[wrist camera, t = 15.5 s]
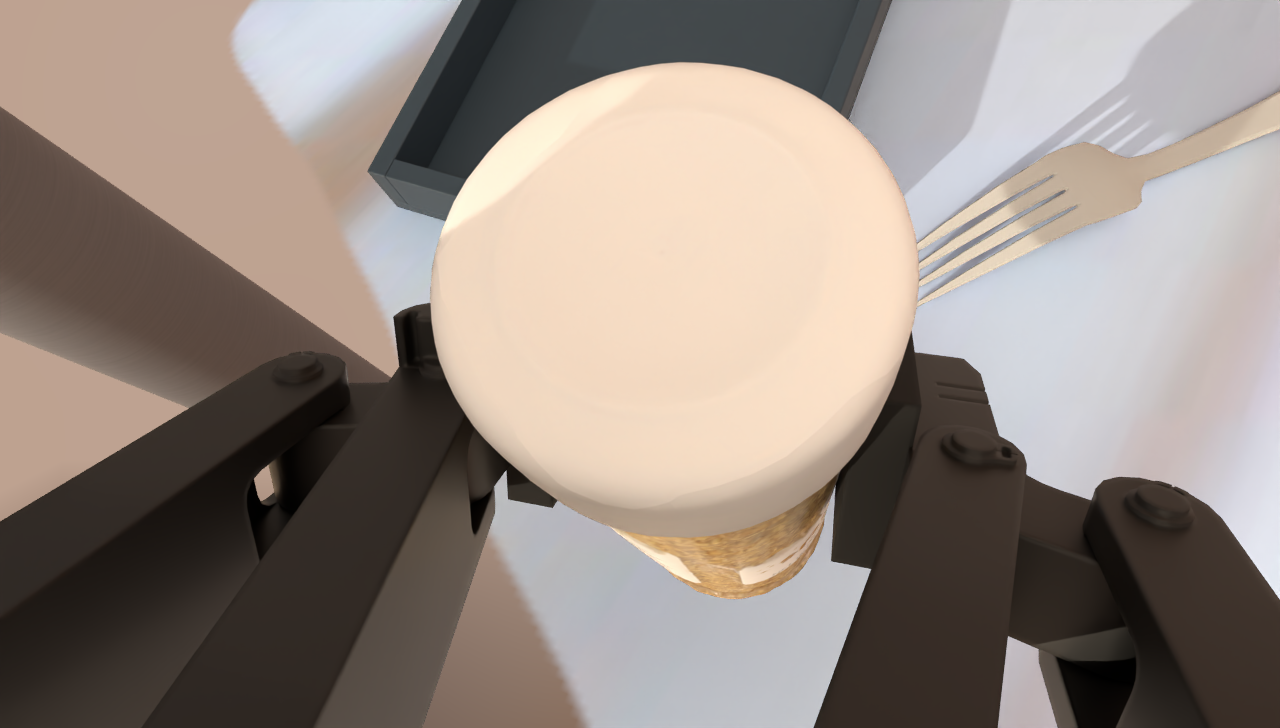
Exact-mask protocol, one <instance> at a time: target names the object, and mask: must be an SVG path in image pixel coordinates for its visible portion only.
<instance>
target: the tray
mask: <svg viewBox="0 0 1280 728" xmlns="http://www.w3.org/2000/svg"><path fill="white" fill-rule="evenodd" d="M891 1H892V0H462V1H461V3H460V5H459V7H458V8H457V10H456V12H455V14H454V16H453V17H452V19H451V21H450V23H449V25H448V26H447V28H446V30H445V32H444V34H443V35H442V37H441V39H440V41H439V43H438V44H437V46H436V48H435V50H434V52H433V53H432V55H431V57H430V59H429V61H428V63H427V64H426V66H425V68H424V70H423V72H422V73H421V75H420V77H419V79H418V81H417V82H416V84H415V86H414V88H413V90H412V91H411V93H410V95H409V97H408V99H407V100H406V102H405V104H404V106H403V108H402V109H401V111H400V113H399V115H398V117H397V118H396V120H395V122H394V124H393V126H392V128H391V129H390V131H389V133H388V135H387V137H386V138H385V140H384V142H383V144H382V146H381V147H380V149H379V151H378V153H377V155H376V156H375V158H374V160H373V162H372V164H371V165H370V167H369V169H368V173H369V174H370V175H371V176H372V177H373V179H374V180H375V181H376V182H377V183H378V184H379V186H380V187H381V188H382V189H383V190H384V191H385V193H386V194H387V195H388V196H389V197H390V198H391V199H392V200H393V202H394V203H395V204H396V205H397V206H398V207H401V208H404V209H408V210H411V211H415V212H418V213H421V214H425V215H428V216H431V217H435V218H438V219H442V220H445V221H446V219H447V217H448V215H449V212H450V210H451V208H452V205H453V203H454V201H455V199H456V197H457V196H458V194H459V192H460V190H461V189H462V187H463V185H464V184H465V182H466V180H467V179H468V177H469V176H470V175H471V173H472V172H473V171H474V170H475V168H476V167H477V166H478V165H479V163H480V162H481V161H482V159H483V158H484V157H485V156H486V154H487V153H488V152H489V151H490V150H491V149H492V148H493V147H494V145H495V144H496V143H497V142H498V141H499V140H500V139H501V138H502V137H503V136H504V135H505V134H506V133H507V132H509V131H510V130H511V129H512V128H513V127H515V126H516V125H517V124H518V123H519V122H520V121H522V120H523V119H524V118H525V117H526V116H528V115H529V114H531V113H532V112H534V111H535V110H537V109H539V108H540V107H542V106H543V105H545V104H547V103H548V102H550V101H552V100H553V99H555V98H557V97H559V96H560V95H562V94H564V93H566V92H568V91H569V90H572V89H574V88H576V87H579V86H581V85H584V84H586V83H589V82H591V81H594V80H596V79H599V78H601V77H604V76H607V75H610V74H614V73H618V72H622V71H626V70H630V69H634V68H638V67H643V66H650V65H656V64H664V63H677V62H686V63H707V64H717V65H726V66H732V67H739V68H745V69H748V70H751V71H755V72H758V73H762V74H765V75H768V76H772V77H775V78H778V79H781V80H783V81H785V82H787V83H790V84H792V85H794V86H796V87H798V88H801V89H803V90H805V91H807V92H809V93H810V94H812V95H814V96H816V97H817V98H819V99H820V100H822V101H823V102H825V103H827V104H828V105H830V106H831V107H832V108H834V109H835V110H836V111H837V112H838V113H840V114H841V115H842V116H843V117H845V118H846V119H847V120H848V118H849V116H850V113H851V110H852V107H853V105H854V102H855V99H856V97H857V94H858V91H859V88H860V86H861V83H862V80H863V77H864V75H865V72H866V69H867V67H868V64H869V61H870V58H871V56H872V53H873V50H874V47H875V45H876V42H877V39H878V37H879V34H880V31H881V28H882V26H883V23H884V20H885V17H886V15H887V12H888V9H889V7H890V4H891Z"/></svg>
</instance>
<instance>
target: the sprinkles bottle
mask: <svg viewBox="0 0 1280 728" xmlns="http://www.w3.org/2000/svg"><path fill="white" fill-rule="evenodd" d="M919 276H920V274H919V258H918V249H917V242H916V235H915V231H914V228H913V225H912V221H911V218H910V215H909V212H908V208H907V205H906V202H905V199H904V197H903V194H902V192H901V190H900V188H899V186H898V184H897V182H896V179H895V178H894V176H893V174H892V172H891V171H890V169H889V168H888V166H887V165H886V163H885V162H884V160H883V159H882V157H881V156H880V154H879V153H878V152H877V150H876V149H875V147H874V146H873V145H872V144H871V143H870V142H869V141H868V140H867V139H866V138H865V136H864V135H863V134H862V133H861V132H860V131H859V130H858V129H857V128H856V127H855V126H853V125H852V124H851V123H850V122H849V121H848V120H847V119H846V118H845V117H843V116H842V115H841V114H840V113H838V112H837V111H836V110H835V109H834V108H832V107H831V106H830V105H828V104H827V103H825V102H823V101H822V100H820V99H819V98H817V97H816V96H814V95H812V94H810V93H809V92H807V91H805V90H803V89H801V88H798V87H796V86H794V85H792V84H790V83H787V82H785V81H783V80H781V79H778V78H775V77H772V76H768V75H765V74H762V73H758V72H755V71H751V70H748V69H745V68H739V67H732V66H726V65H717V64H707V63H686V62H677V63H664V64H656V65H650V66H643V67H638V68H634V69H630V70H626V71H622V72H618V73H614V74H610V75H607V76H604V77H601V78H599V79H596V80H594V81H591V82H589V83H586V84H584V85H581V86H579V87H576V88H574V89H572V90H569V91H568V92H566V93H564V94H562V95H560V96H559V97H557V98H555V99H553V100H552V101H550V102H548V103H547V104H545V105H543V106H542V107H540V108H539V109H537V110H535V111H534V112H532V113H531V114H529V115H528V116H526V117H525V118H524V119H523V120H522V121H520V122H519V123H518V124H517V125H516V126H515V127H513V128H512V129H511V130H510V131H509V132H507V133H506V134H505V135H504V136H503V137H502V138H501V139H500V140H499V141H498V142H497V143H496V144H495V145H494V147H493V148H492V149H491V150H490V151H489V152H488V153H487V154H486V156H485V157H484V158H483V159H482V161H481V162H480V163H479V165H478V166H477V167H476V168H475V170H474V171H473V172H472V173H471V175H470V176H469V177H468V179H467V180H466V182H465V184H464V185H463V187H462V189H461V190H460V192H459V194H458V196H457V197H456V199H455V201H454V203H453V205H452V208H451V210H450V212H449V215H448V217H447V219H446V222H445V224H444V227H443V229H442V232H441V235H440V239H439V242H438V245H437V249H436V252H435V257H434V262H433V267H432V279H431V288H430V303H431V319H432V327H433V334H434V341H435V346H436V350H437V354H438V358H439V361H440V364H441V367H442V369H443V372H444V374H445V377H446V379H447V382H448V384H449V386H450V388H451V390H452V392H453V394H454V396H455V398H456V400H457V402H458V403H459V405H460V406H461V408H462V409H463V411H464V413H465V414H466V416H467V417H468V419H469V420H470V422H471V423H472V425H473V426H474V427H475V429H476V430H477V431H478V432H479V433H480V434H481V436H482V437H483V438H484V439H485V440H486V441H487V442H488V443H489V444H490V445H491V446H492V447H493V448H494V449H495V450H496V451H497V452H498V453H499V454H500V455H501V456H502V457H504V458H505V459H506V460H507V461H508V462H509V463H510V464H512V465H513V466H514V467H515V468H516V469H517V470H519V471H520V472H521V473H522V474H523V475H524V476H526V477H527V478H528V479H529V480H530V481H532V482H533V483H534V484H536V485H537V486H539V487H540V488H541V489H543V490H544V491H546V492H547V493H548V494H550V495H551V496H553V497H554V498H555V499H557V500H558V501H559V502H561V503H562V504H564V505H566V506H568V507H569V508H571V509H573V510H575V511H576V512H578V513H580V514H582V515H584V516H586V517H588V518H590V519H593V520H595V521H597V522H600V523H602V524H605V525H607V526H610V527H611V528H612V529H613V530H614V531H615V532H617V533H618V534H619V535H621V536H622V537H623V538H625V539H626V540H627V541H629V542H630V543H631V544H632V545H634V546H635V547H636V548H638V549H639V550H640V551H642V552H643V553H645V554H646V555H647V556H649V557H650V558H652V559H653V560H654V561H656V562H657V563H659V564H660V565H661V566H663V567H664V568H666V569H667V570H668V571H669V572H670V573H671V574H672V575H673V576H674V577H676V578H677V579H678V580H680V581H682V582H684V583H686V584H687V585H689V586H690V587H692V588H693V589H694V590H696V591H698V592H701V593H704V594H709V595H712V596H715V597H721V598H727V599H742V598H748V597H752V596H757V595H762V594H765V593H767V592H769V591H771V590H772V589H774V588H776V587H778V586H780V585H782V584H783V583H785V582H786V581H788V580H790V579H792V578H793V577H794V576H795V575H796V574H797V573H798V572H799V571H800V570H801V569H802V568H803V567H804V565H805V564H806V562H807V560H808V559H809V558H810V556H811V555H812V553H813V552H814V550H815V547H816V545H817V543H818V540H819V537H820V534H821V531H822V528H823V525H824V517H825V514H826V511H827V508H828V505H829V501H830V499H831V496H832V493H833V490H834V488H835V485H836V482H837V480H838V477H839V474H840V470H841V469H842V468H843V467H844V466H845V465H846V464H847V463H848V462H849V460H850V459H851V458H852V457H853V456H854V455H855V453H856V452H857V450H858V449H859V448H860V446H861V445H862V444H863V442H864V441H865V440H866V438H867V436H868V434H869V433H870V431H871V429H872V427H873V425H874V423H875V422H876V420H877V418H878V416H879V414H880V412H881V410H882V408H883V406H884V404H885V402H886V400H887V398H888V396H889V393H890V391H891V389H892V387H893V385H894V382H895V379H896V376H897V373H898V371H899V368H900V365H901V362H902V359H903V356H904V353H905V350H906V347H907V344H908V340H909V337H910V334H911V330H912V327H913V323H914V318H915V313H916V308H917V299H918V287H919Z"/></svg>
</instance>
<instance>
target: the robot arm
mask: <svg viewBox="0 0 1280 728" xmlns="http://www.w3.org/2000/svg"><path fill="white" fill-rule="evenodd" d="M393 318H394V326H395V334H396V343H397V351H398V360H399V368H398V370H397V371H396V372H395V374H394V375H393V377H392V378H391V379H390V381H389V382H386V383H348V376H347V370H346V363H345V362H344V361H342V360H341V359H340V358H339V357H336V356H333V355H330V354H325V353H315V352H311V351H309V352H303V353H301V352H296V353H291V354H289V355H288V356H284V357H280V358H276V359H274V360H272V361H269V362H267V363H265V364H263V365H261V366H259V367H257V368H256V369H254V370H252V371H251V372H249V373H247V374H246V375H244V376H242V377H241V378H239V379H237V380H236V381H234V382H232V383H231V384H229V385H227V386H226V387H224V388H222V389H221V390H219V391H217V392H216V393H214V394H212V395H211V396H209V397H207V398H206V399H204V400H202V401H201V402H199V403H197V404H196V405H194V406H192V407H191V408H189V409H188V410H186V411H184V412H182V413H181V414H179V415H177V416H176V417H174V418H172V419H171V420H169V421H167V422H166V423H164V424H162V425H161V426H159V427H157V428H156V429H154V430H152V431H151V432H149V433H147V434H146V435H144V436H142V437H141V438H139V439H137V440H136V441H134V442H132V443H131V444H129V445H127V446H126V447H124V448H122V449H121V450H119V451H117V452H116V453H114V454H112V455H111V456H109V457H107V458H106V459H104V460H102V461H101V462H99V463H97V464H96V465H94V466H92V467H91V468H89V469H87V470H86V471H84V472H82V473H81V474H79V475H77V476H76V477H74V478H72V479H71V480H69V481H67V482H66V483H64V484H62V485H61V486H59V487H57V488H56V489H54V490H52V491H51V492H49V493H48V494H45V495H44V496H42V497H40V498H39V499H37V500H36V501H34V502H32V503H31V504H29V505H28V506H26V507H24V508H22V509H21V510H19V511H17V512H16V513H14V514H12V515H10V516H9V517H7V518H5V519H4V520H2V521H0V728H422V727H423V724H424V721H425V718H426V715H427V712H428V709H429V706H430V703H431V700H432V697H433V694H434V691H435V688H436V685H437V683H438V679H439V677H440V673H441V671H442V668H443V665H444V662H445V659H446V656H447V653H448V650H449V647H450V644H451V641H452V638H453V635H454V632H455V629H456V626H457V623H458V620H459V617H460V614H461V612H462V608H463V606H464V603H465V600H466V597H467V594H468V591H469V588H470V585H471V582H472V579H473V576H474V573H475V570H476V567H477V564H478V561H479V558H480V555H481V552H482V549H483V546H484V543H485V540H486V538H487V535H488V532H489V529H490V526H491V523H492V520H493V517H494V514H495V493H494V486H495V484H496V483H497V482H498V480H499V479H500V478H501V476H502V475H503V474H504V472H505V471H506V470H507V488H508V499H510V500H515V501H520V502H525V503H530V504H536V505H541V506H546V507H551V508H553V507H554V505H555V503H556V502H557V499H555V498H554V497H553V496H551V495H550V494H548V493H547V492H546V491H544V490H543V489H541V488H540V487H539V486H537V485H536V484H534V483H533V482H532V481H530V480H529V479H528V478H527V477H526V476H524V475H523V474H522V473H521V472H520V471H519V470H517V469H516V468H515V467H514V466H513V465H512V464H510V463H509V462H508V461H507V460H506V459H505V458H504V457H502V456H501V455H500V454H499V453H498V452H497V451H496V450H495V449H494V448H493V447H492V446H491V445H490V444H489V443H488V442H487V441H486V440H485V439H484V438H483V437H482V436H481V434H480V433H479V432H478V431H477V430H476V429H475V427H474V426H473V425H472V423H471V422H470V420H469V419H468V417H467V416H466V414H465V413H464V411H463V409H462V408H461V406H460V405H459V403H458V402H457V400H456V398H455V396H454V394H453V392H452V390H451V388H450V386H449V384H448V382H447V379H446V377H445V374H444V372H443V369H442V367H441V364H440V361H439V358H438V354H437V350H436V346H435V341H434V334H433V327H432V319H431V303H427V304H421V305H416V306H413V307H410V308H407V309H404V310H402V311H401V312H399V313H398V314H396V315H395V316H394V317H393ZM988 403H989V401H988V397H987V394H986V392H985V387H984V384H983V381H982V377H981V374H980V373H979V372H978V371H977V370H976V369H974V368H973V367H972V366H971V365H970V364H969V363H968V362H967V361H965V360H964V359H961V358H954V357H946V356H938V355H931V354H923V353H916V352H914V345H913V337H912V330H911V334H910V337H909V340H908V344H907V347H906V350H905V353H904V356H903V359H902V362H901V365H900V368H899V371H898V373H897V376H896V379H895V382H894V385H893V387H892V389H891V391H890V393H889V396H888V398H887V400H886V402H885V404H884V406H883V408H882V410H881V412H880V414H879V416H878V418H877V420H876V422H875V423H874V425H873V427H872V429H871V431H870V433H869V434H868V436H867V438H866V440H865V441H864V442H863V444H862V445H861V446H860V448H859V449H858V450H857V452H856V453H855V455H854V456H853V457H852V458H851V459H850V460H849V462H848V463H847V464H846V465H845V466H844V467H843V468H842V469H841V470H840V474H839V477H838V480H837V482H836V490H835V506H834V523H833V539H832V556H831V561H833V562H838V563H843V564H849V565H854V566H859V567H864V568H869V569H871V571H870V574H869V577H868V580H867V582H866V585H865V588H864V591H863V593H862V596H861V599H860V602H859V604H858V607H857V610H856V613H855V615H854V618H853V621H852V624H851V626H850V629H849V632H848V635H847V637H846V640H845V643H844V646H843V648H842V651H841V654H840V657H839V659H838V662H837V665H836V668H835V670H834V673H833V676H832V679H831V681H830V684H829V687H828V690H827V692H826V695H825V698H824V701H823V703H822V706H821V709H820V712H819V714H818V717H817V720H816V723H815V725H814V728H998V719H999V710H1000V701H1001V692H1002V683H1003V674H1004V665H1005V656H1006V647H1007V638H1008V636H1010V637H1012V638H1014V639H1017V640H1019V641H1021V642H1024V643H1026V644H1028V645H1031V646H1033V647H1035V648H1038V649H1039V664H1040V668H1041V671H1042V675H1043V678H1044V681H1045V685H1046V688H1047V692H1048V695H1049V699H1050V702H1051V706H1052V709H1053V713H1054V716H1055V720H1056V723H1057V727H1058V728H1280V599H1279V598H1278V597H1277V595H1276V594H1275V592H1274V591H1273V590H1272V588H1271V587H1270V585H1269V584H1268V583H1267V581H1266V580H1265V578H1264V577H1263V576H1262V574H1261V573H1260V571H1259V570H1258V569H1257V567H1256V566H1255V564H1254V563H1253V562H1252V560H1251V559H1250V557H1249V556H1248V554H1247V553H1246V552H1245V550H1244V549H1243V547H1242V546H1241V545H1240V543H1239V542H1238V540H1237V539H1236V538H1235V536H1234V535H1233V533H1232V532H1231V531H1230V529H1229V528H1228V526H1227V525H1226V524H1225V522H1224V521H1223V519H1222V518H1221V517H1220V516H1219V515H1218V514H1217V513H1216V512H1215V511H1214V510H1213V509H1211V508H1210V507H1209V506H1208V505H1207V504H1205V503H1204V502H1202V501H1200V500H1199V499H1197V498H1195V497H1194V496H1192V495H1190V494H1189V493H1188V492H1186V491H1184V490H1182V489H1180V488H1178V487H1171V486H1172V485H1170V484H1167V483H1164V482H1161V481H1151V480H1147V479H1142V478H1131V477H1116V478H1112V479H1108V480H1104V481H1103V482H1102V483H1101V484H1100V485H1099V486H1098V487H1097V488H1096V489H1095V492H1094V495H1093V498H1092V500H1088V499H1085V498H1082V497H1079V496H1076V495H1073V494H1070V493H1067V492H1064V491H1061V490H1058V489H1055V488H1053V487H1050V486H1048V485H1045V484H1043V483H1041V482H1039V481H1037V480H1035V479H1033V478H1031V477H1029V476H1027V475H1026V468H1027V464H1026V460H1025V457H1024V454H1023V453H1022V452H1021V451H1020V450H1019V449H1018V448H1017V447H1016V446H1015V445H1014V444H1013V443H1011V442H1009V441H1007V440H1006V439H1004V438H1002V437H1000V436H999V434H998V431H997V427H996V424H995V421H994V417H993V414H992V411H991V407H990V405H988ZM267 465H269V469H270V473H271V478H272V483H273V487H274V493H273V494H272V495H270V496H269V497H268V498H267V499H265V500H263V501H260V499H259V498H258V495H257V491H256V487H255V482H254V478H255V477H256V476H257V474H258V473H259V472H260V471H261V470H262V469H263V468H265V467H266V466H267Z"/></svg>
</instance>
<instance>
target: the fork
mask: <svg viewBox="0 0 1280 728" xmlns="http://www.w3.org/2000/svg"><path fill="white" fill-rule="evenodd" d="M1279 129H1280V91H1279V92H1277V93H1275V94H1273V95H1272V96H1270V97H1268V98H1266V99H1264V100H1263V101H1261V102H1259V103H1257V104H1255V105H1253V106H1252V107H1250V108H1248V109H1246V110H1244V111H1242V112H1240V113H1238V114H1236V115H1234V116H1232V117H1229V118H1227V119H1225V120H1223V121H1221V122H1219V123H1217V124H1215V125H1213V126H1211V127H1209V128H1207V129H1205V130H1203V131H1201V132H1198V133H1196V134H1194V135H1192V136H1190V137H1188V138H1185V139H1183V140H1181V141H1179V142H1177V143H1175V144H1172V145H1170V146H1167V147H1165V148H1162V149H1160V150H1157V151H1155V152H1152V153H1149V154H1147V155H1142V156H1137V157H1132V158H1124V157H1122V156H1119V155H1116V154H1113V153H1112V152H1110V151H1108V150H1106V149H1105V148H1103V147H1101V146H1098V145H1095V144H1090V143H1086V142H1083V143H1079V144H1076V145H1072V146H1068V147H1065V148H1061V149H1059V150H1057V151H1055V152H1052V153H1050V154H1048V155H1046V156H1044V157H1043V158H1041V159H1040V160H1038V161H1037V162H1035V163H1034V164H1032V165H1031V166H1029V167H1027V168H1026V169H1024V170H1022V171H1021V172H1019V173H1018V174H1016V175H1014V176H1013V177H1011V178H1010V179H1008V180H1006V181H1005V182H1003V183H1001V184H1000V185H998V186H997V187H995V188H994V189H992V190H991V191H990V192H988V193H987V194H985V195H984V196H982V197H981V198H980V199H978V200H977V201H975V202H974V203H972V204H971V205H969V206H968V207H967V208H965V209H964V210H962V211H961V212H959V213H958V214H957V215H955V216H954V217H952V218H951V219H949V220H948V221H946V222H945V223H944V224H942V225H941V226H940V227H938V228H937V229H936V230H934V231H933V232H932V233H930V234H929V235H928V236H926V237H925V238H924V239H922V240H921V241H920V242H918V243H917V249H918V251H919V250H921V249H923V248H924V247H926V246H928V245H929V244H931V243H933V242H934V241H936V240H938V239H939V238H941V237H943V236H944V235H946V234H948V233H949V232H951V231H953V230H954V229H956V228H958V227H960V226H961V225H963V224H965V223H966V222H968V221H970V220H972V219H973V218H975V217H977V216H979V215H980V214H982V213H984V212H985V211H987V210H989V209H991V208H992V207H994V206H996V205H998V204H999V203H1001V202H1003V201H1005V200H1006V199H1008V198H1010V197H1012V196H1014V195H1015V194H1017V193H1019V192H1021V191H1023V190H1025V189H1026V188H1028V187H1030V186H1032V185H1034V184H1036V183H1038V182H1039V181H1041V180H1043V179H1045V178H1047V177H1049V176H1052V175H1054V177H1052V178H1050V179H1049V180H1047V181H1045V182H1044V183H1042V184H1040V185H1039V186H1037V187H1035V188H1034V189H1032V190H1030V191H1028V192H1027V193H1025V194H1023V195H1022V196H1020V197H1018V198H1017V199H1015V200H1013V201H1012V202H1010V203H1008V204H1007V205H1005V206H1004V207H1002V208H1001V209H999V210H998V211H996V212H994V213H993V214H991V215H990V216H988V217H987V218H985V219H984V220H982V221H980V222H979V223H977V224H976V225H974V226H973V227H971V228H970V229H968V230H966V231H965V232H963V233H962V234H960V235H959V236H957V237H956V238H954V239H953V240H951V241H950V242H948V243H947V244H945V245H944V246H943V247H941V248H940V249H938V250H937V251H935V252H934V253H933V254H931V255H930V256H928V257H927V258H925V259H924V260H923V261H921V262H920V263H919V270H920V269H922V268H924V267H925V266H927V265H929V264H931V263H932V262H934V261H936V260H938V259H939V258H941V257H943V256H945V255H946V254H948V253H950V252H952V251H953V250H955V249H957V248H959V247H960V246H962V245H964V244H966V243H967V242H969V241H971V240H973V239H974V238H976V237H978V236H980V235H981V234H983V233H985V232H987V231H988V230H990V229H992V228H994V227H995V226H997V225H999V224H1001V223H1002V222H1004V221H1006V220H1008V219H1009V218H1011V217H1013V216H1014V215H1016V214H1018V213H1020V212H1022V211H1024V210H1026V209H1028V208H1029V207H1031V206H1033V205H1035V204H1037V203H1039V202H1041V201H1043V200H1045V199H1047V198H1049V197H1051V196H1052V195H1054V194H1056V193H1058V192H1060V191H1063V190H1065V192H1064V193H1063V194H1061V195H1059V196H1057V197H1056V198H1054V199H1052V200H1050V201H1048V202H1047V203H1045V204H1043V205H1041V206H1040V207H1038V208H1036V209H1034V210H1032V211H1031V212H1029V213H1027V214H1025V215H1024V216H1022V217H1020V218H1018V219H1017V220H1015V221H1013V222H1012V223H1010V224H1008V225H1007V226H1005V227H1004V228H1002V229H1000V230H999V231H997V232H995V233H994V234H992V235H990V236H989V237H987V238H985V239H984V240H982V241H980V242H979V243H977V244H975V245H974V246H972V247H971V248H969V249H967V250H966V251H964V252H962V253H961V254H959V255H958V256H956V257H955V258H953V259H952V260H950V261H949V262H947V263H946V264H944V265H943V266H941V267H940V268H938V269H937V270H935V271H934V272H932V273H931V274H929V275H928V276H926V277H924V278H923V279H921V280H920V281H919V287H920V286H922V285H924V284H926V283H928V282H930V281H932V280H933V279H935V278H937V277H939V276H941V275H943V274H945V273H947V272H948V271H950V270H952V269H954V268H956V267H958V266H960V265H962V264H963V263H965V262H967V261H969V260H971V259H973V258H975V257H976V256H978V255H980V254H982V253H984V252H986V251H988V250H989V249H991V248H993V247H995V246H997V245H999V244H1001V243H1002V242H1004V241H1006V240H1008V239H1010V238H1012V237H1014V236H1015V235H1017V234H1019V233H1021V232H1023V231H1025V230H1027V229H1028V228H1030V227H1032V226H1035V225H1037V224H1039V223H1041V222H1043V221H1045V220H1047V219H1049V218H1051V217H1053V216H1055V215H1057V214H1059V213H1061V212H1063V211H1065V210H1067V209H1069V208H1071V207H1073V206H1075V205H1076V206H1077V207H1076V208H1075V209H1073V210H1071V211H1070V212H1068V213H1066V214H1064V215H1062V216H1060V217H1058V218H1057V219H1055V220H1053V221H1051V222H1049V223H1047V224H1046V225H1044V226H1042V227H1040V228H1038V229H1036V230H1034V231H1033V232H1031V233H1029V234H1027V235H1026V236H1024V237H1022V238H1021V239H1019V240H1017V241H1016V242H1014V243H1012V244H1011V245H1009V246H1007V247H1006V248H1004V249H1002V250H1001V251H999V252H997V253H996V254H994V255H992V256H991V257H989V258H987V259H986V260H984V261H982V262H981V263H979V264H977V265H976V266H974V267H972V268H971V269H969V270H967V271H966V272H964V273H963V274H961V275H959V276H958V277H956V278H955V279H953V280H952V281H950V282H948V283H947V284H945V285H944V286H942V287H940V288H939V289H937V290H936V291H934V292H932V293H931V294H929V295H928V296H926V297H924V298H923V299H921V300H920V301H918V302H917V307H918V306H920V305H922V304H924V303H926V302H928V301H930V300H932V299H934V298H936V297H938V296H940V295H942V294H945V293H947V292H949V291H951V290H953V289H955V288H957V287H959V286H961V285H963V284H965V283H967V282H969V281H971V280H973V279H976V278H978V277H980V276H982V275H984V274H986V273H988V272H990V271H992V270H994V269H996V268H998V267H1000V266H1002V265H1004V264H1006V263H1008V262H1010V261H1012V260H1014V259H1016V258H1018V257H1020V256H1022V255H1024V254H1026V253H1028V252H1030V251H1032V250H1034V249H1036V248H1039V247H1041V246H1043V245H1045V244H1047V243H1049V242H1051V241H1053V240H1056V239H1058V238H1060V237H1062V236H1064V235H1066V234H1069V233H1071V232H1073V231H1075V230H1077V229H1079V228H1081V227H1084V226H1086V225H1089V224H1093V223H1097V222H1099V221H1102V220H1105V219H1108V218H1111V217H1114V216H1117V215H1119V214H1122V213H1125V212H1127V211H1130V210H1133V209H1135V208H1137V207H1138V206H1139V204H1140V203H1141V202H1142V199H1141V190H1142V187H1143V185H1144V183H1145V181H1148V180H1150V179H1153V178H1156V177H1159V176H1161V175H1164V174H1167V173H1169V172H1172V171H1174V170H1177V169H1180V168H1182V167H1185V166H1187V165H1190V164H1193V163H1195V162H1198V161H1200V160H1203V159H1205V158H1208V157H1210V156H1213V155H1215V154H1218V153H1220V152H1223V151H1225V150H1228V149H1230V148H1233V147H1235V146H1238V145H1240V144H1243V143H1245V142H1248V141H1250V140H1253V139H1255V138H1258V137H1260V136H1263V135H1265V134H1268V133H1270V132H1273V131H1276V130H1279Z"/></svg>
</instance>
